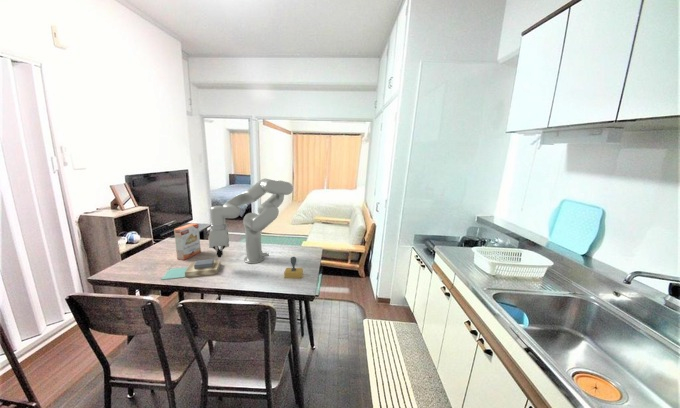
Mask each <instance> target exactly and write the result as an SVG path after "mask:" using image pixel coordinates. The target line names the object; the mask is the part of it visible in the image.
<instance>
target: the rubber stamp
mask: <svg viewBox="0 0 680 408" xmlns="http://www.w3.org/2000/svg"><path fill="white" fill-rule="evenodd" d="M297 262H298V261H297V258H296V256H291V257H290V264H291V267H285V271H284V273H283V274H284V279H302V278H303V274H304V268H303V267H296V264H297Z"/></svg>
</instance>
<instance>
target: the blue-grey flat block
mask: <svg viewBox="0 0 680 408" xmlns="http://www.w3.org/2000/svg"><path fill="white" fill-rule="evenodd" d="M214 261H215V260H214V258H210V259H198V260H196V261H195V262H196V263H195V262H194V263H195V264H194V269H200V268H210V267H212V266H213V264H214Z"/></svg>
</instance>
